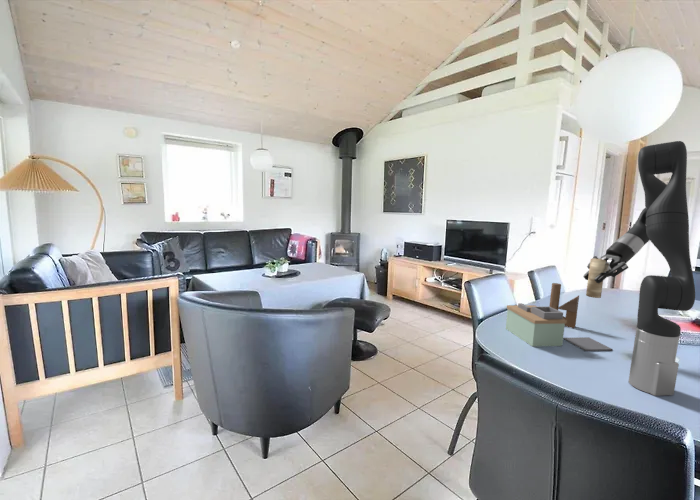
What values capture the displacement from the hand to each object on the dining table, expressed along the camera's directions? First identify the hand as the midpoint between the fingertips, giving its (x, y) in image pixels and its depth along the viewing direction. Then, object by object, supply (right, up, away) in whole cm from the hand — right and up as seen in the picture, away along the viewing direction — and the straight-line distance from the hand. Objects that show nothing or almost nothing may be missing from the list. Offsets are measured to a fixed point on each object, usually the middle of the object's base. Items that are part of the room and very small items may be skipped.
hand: (590, 279), depth 126 cm
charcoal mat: (+1, -25, +4) cm, 25 cm away
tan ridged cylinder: (+2, -6, +1) cm, 7 cm away
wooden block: (+5, -22, +26) cm, 35 cm away
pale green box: (-17, -24, +10) cm, 31 cm away
